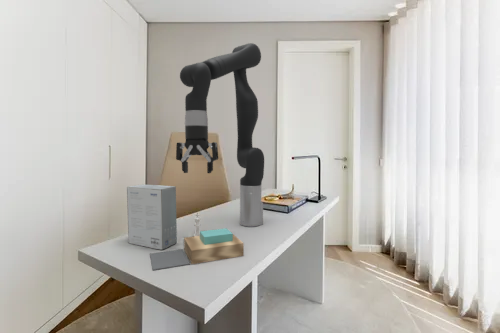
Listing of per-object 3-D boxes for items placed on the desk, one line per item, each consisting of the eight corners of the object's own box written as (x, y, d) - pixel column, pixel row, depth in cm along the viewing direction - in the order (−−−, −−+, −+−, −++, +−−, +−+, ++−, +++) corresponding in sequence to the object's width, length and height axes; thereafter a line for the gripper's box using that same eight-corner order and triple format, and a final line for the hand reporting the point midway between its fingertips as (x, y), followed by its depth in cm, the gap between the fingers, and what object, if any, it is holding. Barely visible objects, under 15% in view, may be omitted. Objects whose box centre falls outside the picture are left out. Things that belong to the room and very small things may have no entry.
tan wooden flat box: (230, 243, 95) (230, 231, 95) (243, 255, 84) (243, 243, 84) (184, 249, 89) (184, 237, 89) (191, 264, 78) (191, 250, 78)
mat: (182, 249, 89) (182, 248, 89) (189, 264, 78) (189, 263, 78) (149, 254, 85) (149, 253, 85) (152, 270, 74) (152, 269, 74)
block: (226, 235, 91) (226, 228, 91) (232, 241, 86) (232, 233, 86) (199, 238, 88) (199, 231, 88) (204, 244, 82) (204, 237, 82)
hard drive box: (177, 243, 95) (177, 186, 93) (162, 250, 88) (161, 189, 86) (144, 236, 101) (143, 183, 100) (127, 243, 94) (125, 186, 93)
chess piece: (191, 238, 100) (191, 211, 99) (205, 238, 100) (204, 211, 100) (189, 243, 95) (189, 214, 94) (203, 242, 96) (203, 214, 95)
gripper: (220, 125, 94) (220, 172, 96) (181, 126, 97) (182, 171, 98) (213, 124, 87) (213, 174, 88) (171, 124, 90) (173, 173, 91)
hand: (197, 172), depth 93 cm, fingers open, 8 cm apart
